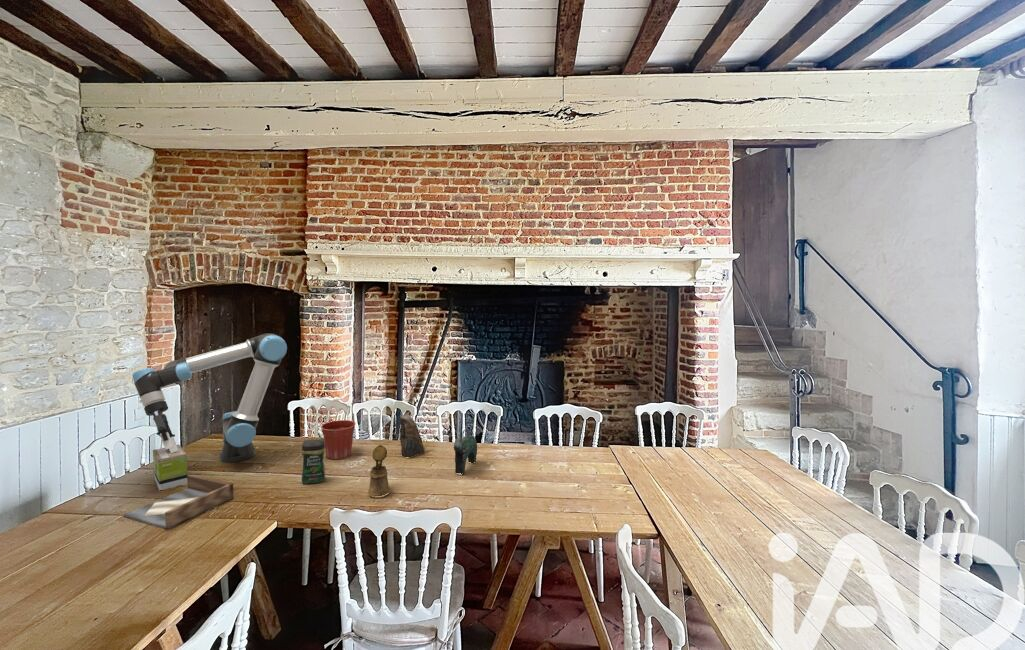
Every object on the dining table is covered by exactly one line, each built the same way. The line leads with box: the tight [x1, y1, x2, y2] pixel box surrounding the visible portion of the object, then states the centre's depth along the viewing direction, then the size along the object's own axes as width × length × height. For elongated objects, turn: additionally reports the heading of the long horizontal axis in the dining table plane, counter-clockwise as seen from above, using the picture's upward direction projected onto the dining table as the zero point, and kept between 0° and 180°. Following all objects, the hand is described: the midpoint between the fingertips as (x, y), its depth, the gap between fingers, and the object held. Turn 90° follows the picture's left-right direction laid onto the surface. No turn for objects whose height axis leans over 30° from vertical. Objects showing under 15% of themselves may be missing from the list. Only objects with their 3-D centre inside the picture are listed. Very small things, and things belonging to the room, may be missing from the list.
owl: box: [398, 412, 425, 458], centre depth 231 cm, size 13×13×20 cm
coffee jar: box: [301, 438, 326, 485], centre depth 196 cm, size 10×8×19 cm
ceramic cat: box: [453, 428, 478, 474], centre depth 213 cm, size 20×6×20 cm, turn 161°
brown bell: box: [367, 444, 391, 497], centre depth 188 cm, size 9×14×18 cm, turn 13°
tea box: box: [152, 444, 188, 491], centre depth 192 cm, size 15×10×15 cm, turn 46°
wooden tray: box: [123, 474, 234, 530], centre depth 172 cm, size 25×24×6 cm
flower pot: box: [320, 419, 356, 460], centre depth 226 cm, size 16×16×16 cm
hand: (172, 450), depth 184 cm, fingers open, 13 cm apart
